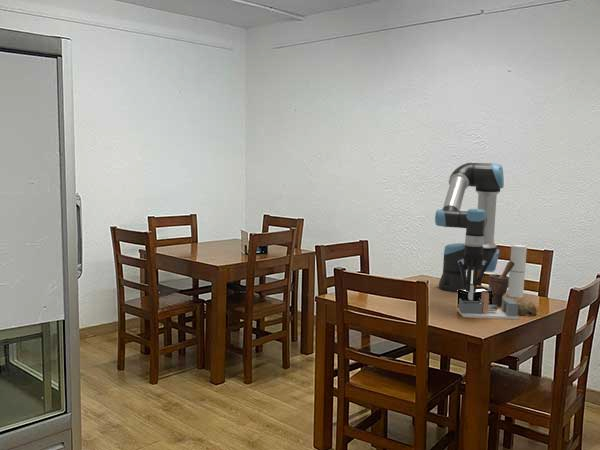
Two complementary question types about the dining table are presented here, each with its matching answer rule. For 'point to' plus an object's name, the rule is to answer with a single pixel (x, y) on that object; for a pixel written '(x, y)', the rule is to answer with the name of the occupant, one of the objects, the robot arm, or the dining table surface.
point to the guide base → (475, 311)
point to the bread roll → (526, 308)
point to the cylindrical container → (517, 271)
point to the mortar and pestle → (499, 284)
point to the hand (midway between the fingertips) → (470, 299)
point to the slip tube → (486, 303)
